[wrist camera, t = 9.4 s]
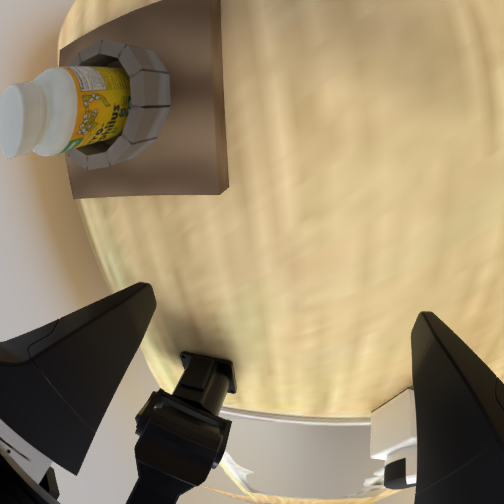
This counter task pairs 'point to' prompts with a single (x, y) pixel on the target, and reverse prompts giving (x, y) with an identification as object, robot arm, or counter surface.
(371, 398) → the counter surface
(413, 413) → the medicine bottle
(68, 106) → the supplement bottle
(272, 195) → the counter surface
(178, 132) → the brown base with ring
